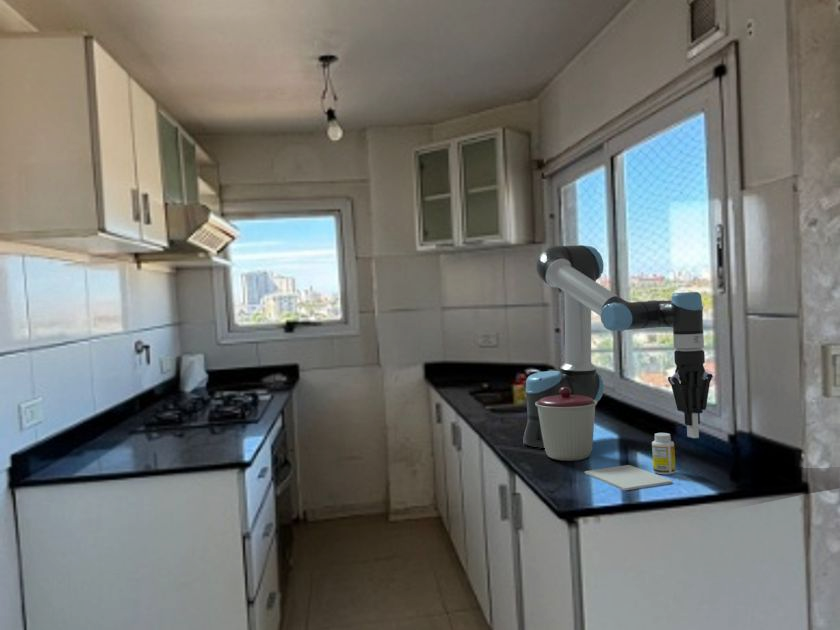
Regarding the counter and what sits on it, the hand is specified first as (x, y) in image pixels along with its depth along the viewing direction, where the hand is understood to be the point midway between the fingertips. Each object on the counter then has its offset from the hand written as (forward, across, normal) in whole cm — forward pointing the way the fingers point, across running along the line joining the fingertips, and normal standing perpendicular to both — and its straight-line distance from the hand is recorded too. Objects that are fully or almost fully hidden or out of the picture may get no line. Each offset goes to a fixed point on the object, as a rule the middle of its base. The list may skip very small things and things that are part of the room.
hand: (693, 436), depth 174 cm
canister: (+9, -23, +27) cm, 36 cm away
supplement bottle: (+9, -10, 0) cm, 13 cm away
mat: (+8, -21, 0) cm, 23 cm away
